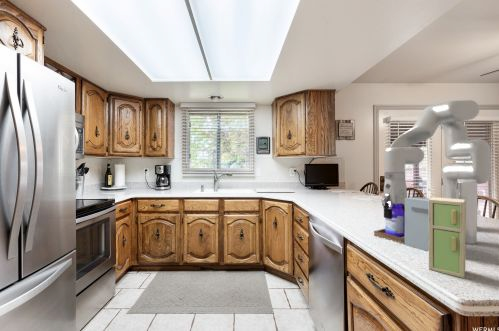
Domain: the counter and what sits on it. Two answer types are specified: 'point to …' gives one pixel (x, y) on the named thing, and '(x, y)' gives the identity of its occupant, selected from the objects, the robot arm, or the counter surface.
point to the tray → (388, 236)
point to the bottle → (396, 221)
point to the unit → (417, 223)
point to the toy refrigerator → (447, 236)
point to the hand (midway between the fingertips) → (394, 216)
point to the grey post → (468, 207)
